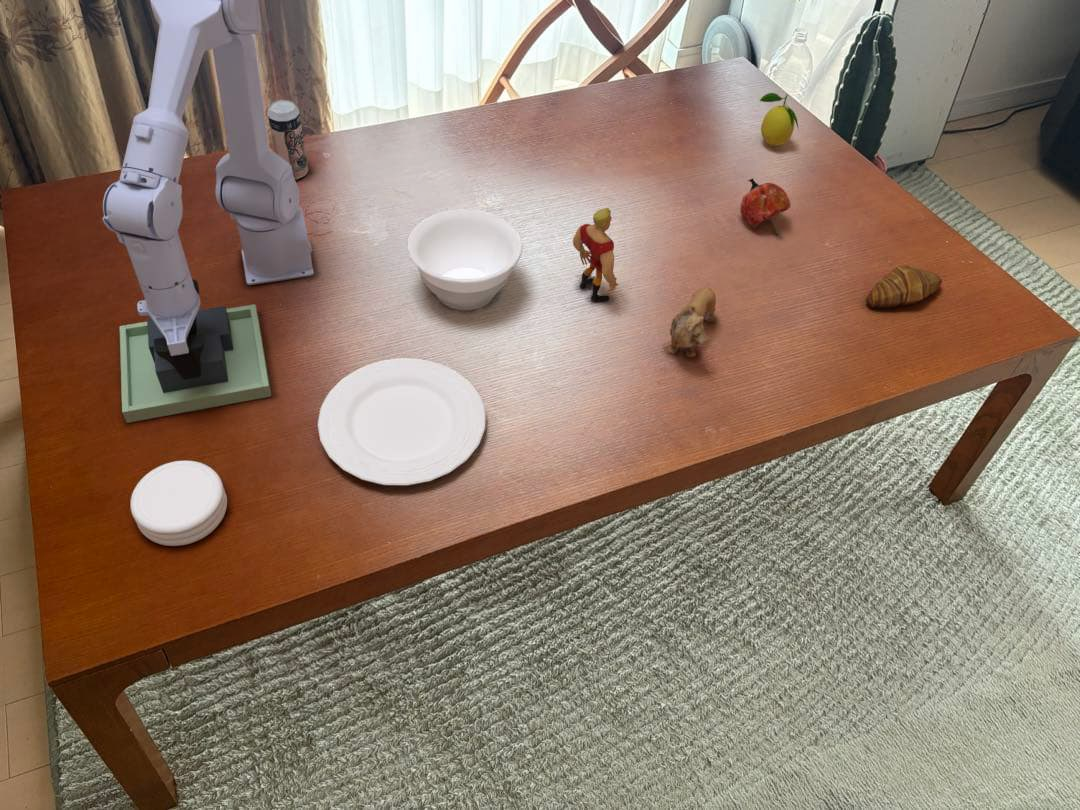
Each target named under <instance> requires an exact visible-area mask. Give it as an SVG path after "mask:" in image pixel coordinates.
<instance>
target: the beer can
mask: <svg viewBox="0 0 1080 810" xmlns="http://www.w3.org/2000/svg"><path fill="white" fill-rule="evenodd" d="M267 119H268V124H269V129H270V135H271V140H272V145H273V149H274V150H273V151H274V152H275V153H276V154H277V155H279V156H280V157H281V158H283V159H284V160H285V161H287V162H288V163H289V164H290V165H291V166H292V172H293V176H294V180H299V179H300V178H303V177H305V176H307V174H308V172H309V165H308V158H307V152H306V147H305V146H306V145H305V139H304V133H303V125H302V120H301V114H300V109H299V108H298V107H297V105H296V103H295V102H294V101H292V100H289V99H279V100H275V101H273V102H271V103H270V105H268V110H267Z"/></svg>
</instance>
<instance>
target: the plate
mask: <svg viewBox="0 0 1080 810" xmlns="http://www.w3.org/2000/svg"><path fill="white" fill-rule="evenodd" d="M318 413H319V414H318V419H317V429H318V435H319V441H320V444H321V445H322V447H323V449H324V451H325V453H326V454H327V457H328V458H329V459H330V460H331V461H333V462H334V464H336V466H338V467H339V468H340V469H341V470H342V471H343V472H346V473H347V474H349V475H351V476H352V477H353V476H354V477H355V478H357V479H359V480H360V481H363V482H364V481H365V482H368V483H373V484H375V485H380V486H388V487H389V486H391V487H409V486H414V485H419V484H424V483H425V484H426V483H430V482H432V481H435V480H437V479H439V478H442V477H444V476H446V475H449V474H451V473H452V472H454V471H455V470H457V469H458V468H459V467H460V466H462V465H463V464H464V463H466V462H467V461H468V460H469V459H470V458H471V456H472V455H473V454H474V452H476V450H477V449H478V447H479V446H480V444H481V441H482V438H483V436H484V433H485V431H486V416H487V415H486V414H487V413H486V409H485V405H484V402H483V399H482V396H481V395H480V393H479V391H478V390H477V389H476V388H475V386H474V385H473V384H472V382H471V381H469V380H468V379H467V378H466V377H465V376H463V375H462V374H461V373H460V372H459V371H457V370H455V369H453V368H450V367H449V366H446V365H444V364H442V363H439V362H437V361H433V360H427V359H422V358H413V357H412V358H411V357H410V358H409V357H397V358H390V359H384V360H379V361H374V362H372V363H369V364H366V365H364V366H361V367H359V368H357V369H355V370H354V371H352V372H351V373H349V374H347V375H346V376H344V377H343V378H341V379H340V380H339V381H338V382H337V383H336V385H334V386H333V387H332V388H331V389H330V391H328V393H327V395H326V397H325V399H324V400H323V402H322V404H321V405H320V408H319V412H318Z"/></svg>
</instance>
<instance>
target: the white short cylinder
mask: <svg viewBox="0 0 1080 810" xmlns="http://www.w3.org/2000/svg"><path fill="white" fill-rule="evenodd" d="M227 507H228V497H227V493H226V490H225V487H224V483H223V481H222V479H221V477H220V476H219V474H218V473H217V472H216V471H215V470H214V469H213V468H212V467H210V466H208V465H207V464H205V463H203V462H199V461H194V460H175V461H170V462H167V463H164V464H161V465H159V466H157V467H155V468H153V469H152V470H150V471H149V472H147V473H146V474H145V475H144V476H143V477H142V478H141V479H140V480H139V481H138V482H137V484H136V486H135V487H134V489H133V491H132V493H131V497H130V512H131V515H132V517H133V519H134V521H135V523H136V525H137V528H138V529H139V531H140V532H141V534H142V535H143V536H144V537H145V538H147V539H148V540H150V541H151V542H153V543H155V544H157V545H158V544H159V545H162V546H167V547H168V546H169V547H179V546H186V545H191V544H193V543H195V542H196V543H197V542H198V541H200V540H202V539H204V538H206V537H207V536H209V535H210V534H211V533H212V532H214V530H215V529H217V528H218V526H219V525H220V524H221V522H222V520H223V519H224V517H225V515H226V512H227Z"/></svg>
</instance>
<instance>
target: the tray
mask: <svg viewBox="0 0 1080 810" xmlns="http://www.w3.org/2000/svg"><path fill="white" fill-rule="evenodd" d="M226 310H227V314H228V318H229V322H230V328H231V335H232V343H233V350H229V351H224V353H225V359H226V367H227V375H228V382H223V383H217V384H211V385H206V386H200V387H195V388H189V389H183V390H178V391H172V392H167V393H163V391H162V388H161V385H160V383H159V380H158V377H157V375H156V372H155V363H154V360H153V358H152V355H151V352H150V350H149V345H148V327H147V321H143V322H135V323H131V324H126V325H125V324H124V325H119V352H120V353H119V354H120V389H121V412H122V416H123V417H124V420H125V422H126V423H127V424H129V423H135V422H140V421H146V420H150V419H151V420H152V419H157V418H161V417H168V416H172V415H173V416H174V415H177V414H183V413H188V412H189V413H190V412H194V411H200V410H205V409H211V408H215V407H221V406H226V405H232V404H237V403H243V402H248V401H254V400H260V399H265V398H270V397H272V391H271V385H270V379H269V378H270V377H269V373H268V367H267V361H266V354H265V350H264V344H263V337H262V331H261V325H260V320H259V319H260V318H259V313H258V310H257V305H256V304H249V305H242V306H236V307H235V306H234V307H230V308H226Z"/></svg>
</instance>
